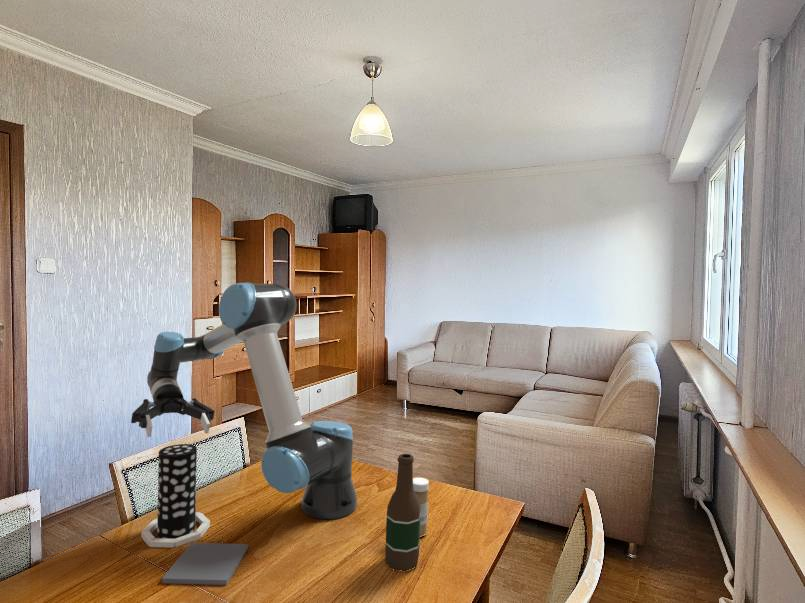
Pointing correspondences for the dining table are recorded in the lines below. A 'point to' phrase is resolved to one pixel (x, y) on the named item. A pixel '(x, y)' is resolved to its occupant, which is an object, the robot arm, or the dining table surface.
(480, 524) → the dining table surface
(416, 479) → the sprinkles bottle
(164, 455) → the white-spotted black cylinder
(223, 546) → the mat
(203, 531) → the coaster ring
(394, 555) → the beer bottle
